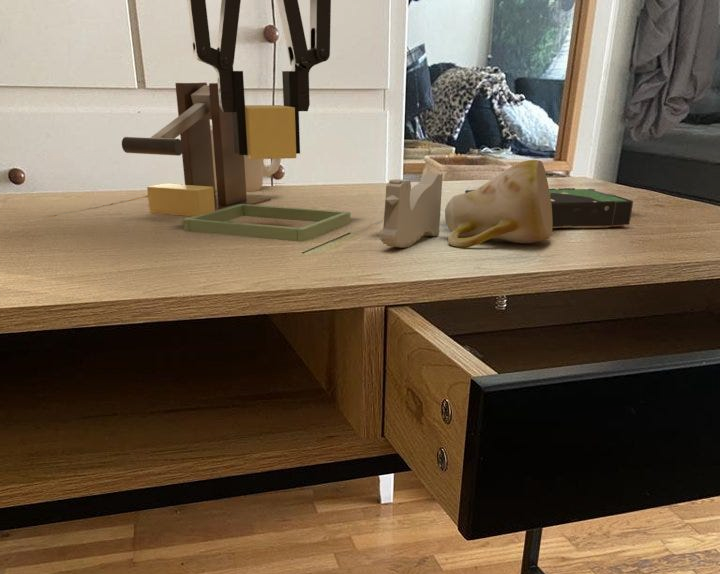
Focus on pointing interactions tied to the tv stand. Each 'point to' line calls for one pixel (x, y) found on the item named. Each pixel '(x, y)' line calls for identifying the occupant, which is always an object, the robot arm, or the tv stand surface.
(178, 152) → the lever
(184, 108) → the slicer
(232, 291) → the tv stand surface
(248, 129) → the butter pat
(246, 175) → the cup
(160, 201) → the butter block
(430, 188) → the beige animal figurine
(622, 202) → the disk drive
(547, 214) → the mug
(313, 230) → the dish
